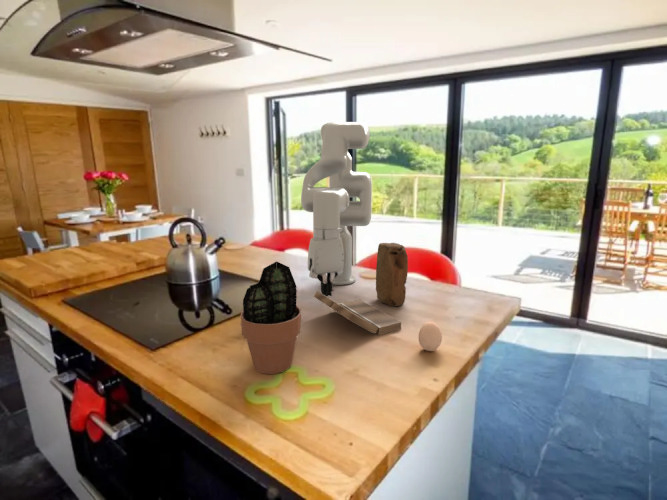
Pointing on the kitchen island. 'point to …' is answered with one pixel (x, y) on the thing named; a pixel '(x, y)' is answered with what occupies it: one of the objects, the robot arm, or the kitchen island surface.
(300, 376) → the kitchen island surface
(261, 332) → the potted plant
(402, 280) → the block
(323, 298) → the plank
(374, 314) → the laid board
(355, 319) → the plank
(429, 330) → the egg
